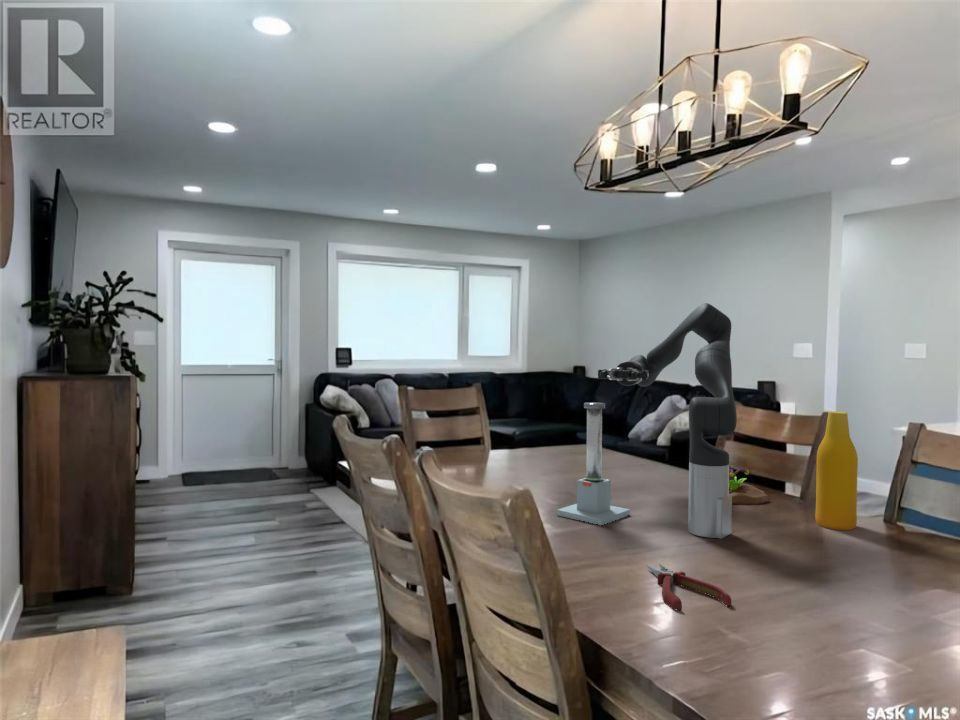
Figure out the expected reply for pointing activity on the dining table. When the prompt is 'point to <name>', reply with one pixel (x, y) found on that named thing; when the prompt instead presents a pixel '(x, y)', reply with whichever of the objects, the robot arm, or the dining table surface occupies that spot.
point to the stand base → (593, 504)
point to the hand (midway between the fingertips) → (617, 375)
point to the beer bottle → (836, 476)
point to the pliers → (680, 578)
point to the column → (594, 441)
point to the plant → (744, 490)
